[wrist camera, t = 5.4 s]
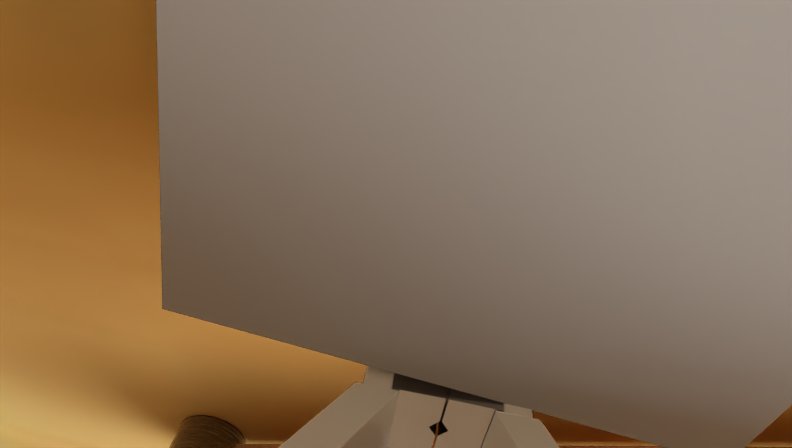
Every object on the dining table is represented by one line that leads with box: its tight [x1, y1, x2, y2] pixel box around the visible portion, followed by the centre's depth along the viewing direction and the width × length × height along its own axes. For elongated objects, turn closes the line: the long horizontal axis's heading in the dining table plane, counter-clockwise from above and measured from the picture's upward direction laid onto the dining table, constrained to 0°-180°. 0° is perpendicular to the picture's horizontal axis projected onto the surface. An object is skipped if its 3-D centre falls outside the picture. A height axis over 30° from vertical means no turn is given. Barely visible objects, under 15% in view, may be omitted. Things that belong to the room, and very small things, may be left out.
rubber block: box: [156, 0, 792, 448], centre depth 10 cm, size 8×10×5 cm
